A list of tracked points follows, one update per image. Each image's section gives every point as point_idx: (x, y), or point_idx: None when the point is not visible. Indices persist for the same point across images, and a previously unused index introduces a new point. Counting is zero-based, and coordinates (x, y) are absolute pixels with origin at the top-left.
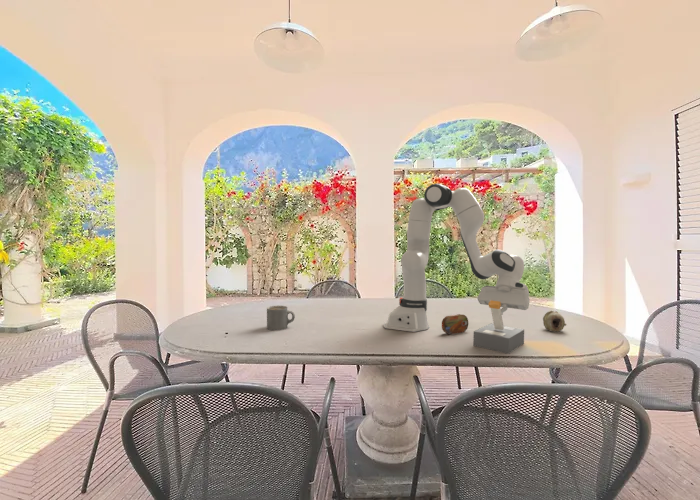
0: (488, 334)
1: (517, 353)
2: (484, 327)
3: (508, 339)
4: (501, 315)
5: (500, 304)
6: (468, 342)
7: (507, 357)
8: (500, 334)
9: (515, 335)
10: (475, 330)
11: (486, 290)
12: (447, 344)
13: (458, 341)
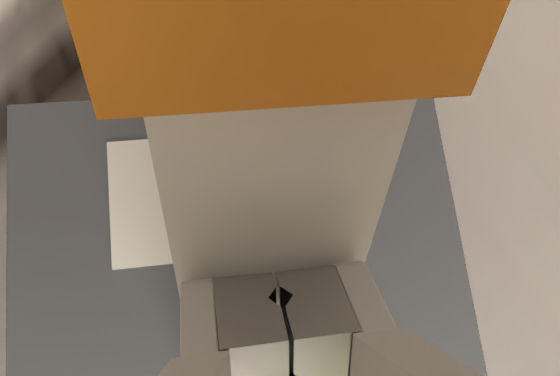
0: None
1: (5, 235)
2: (457, 348)
3: (17, 111)
4: (179, 293)
5: (78, 9)
6: (459, 187)
7: (34, 70)
8: (146, 176)
9: (11, 345)
10: (437, 125)
11: None
12: (520, 12)
13: (526, 146)
